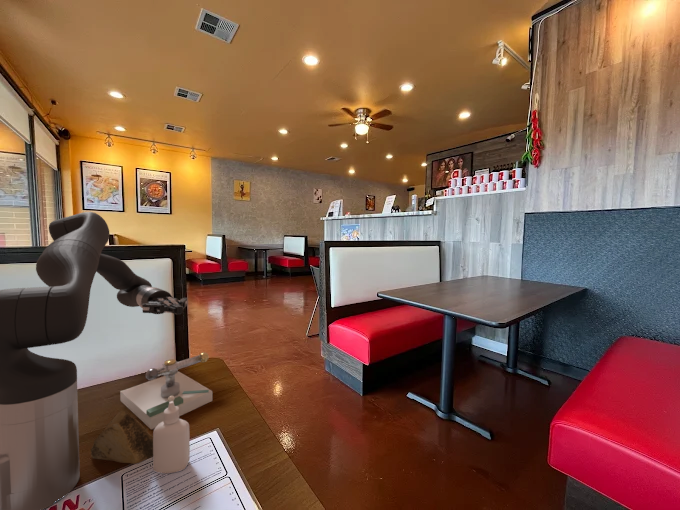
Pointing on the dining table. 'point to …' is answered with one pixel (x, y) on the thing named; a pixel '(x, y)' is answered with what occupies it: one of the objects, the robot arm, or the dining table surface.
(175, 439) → the eye dropper bottle
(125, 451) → the rock
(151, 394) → the stand
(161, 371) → the crank handle
